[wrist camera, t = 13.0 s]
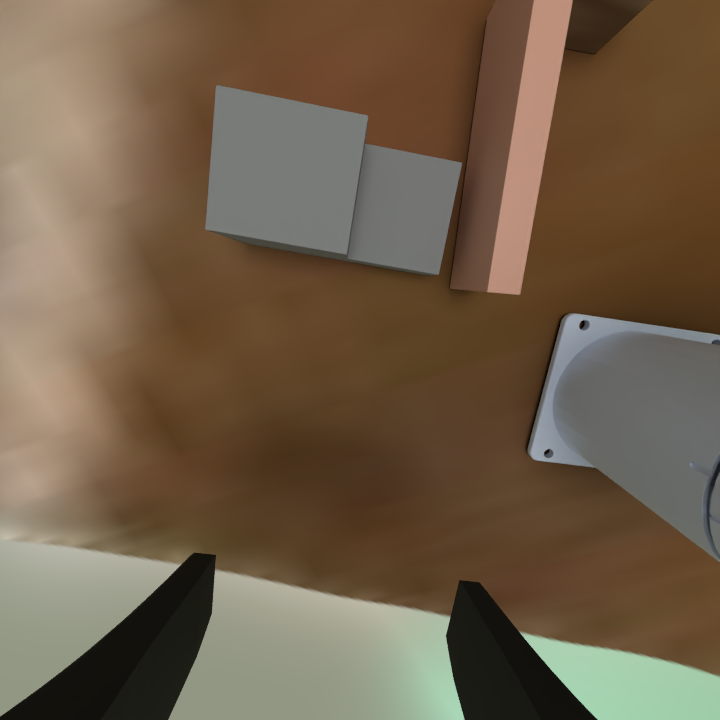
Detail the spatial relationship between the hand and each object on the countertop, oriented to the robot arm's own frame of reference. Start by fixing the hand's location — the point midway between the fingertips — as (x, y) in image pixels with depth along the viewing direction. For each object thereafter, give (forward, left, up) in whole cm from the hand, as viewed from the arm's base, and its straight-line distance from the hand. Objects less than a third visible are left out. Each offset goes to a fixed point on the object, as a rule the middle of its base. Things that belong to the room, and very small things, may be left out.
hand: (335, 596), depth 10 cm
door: (-4, -15, -9) cm, 18 cm away
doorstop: (+2, -12, -10) cm, 16 cm away
